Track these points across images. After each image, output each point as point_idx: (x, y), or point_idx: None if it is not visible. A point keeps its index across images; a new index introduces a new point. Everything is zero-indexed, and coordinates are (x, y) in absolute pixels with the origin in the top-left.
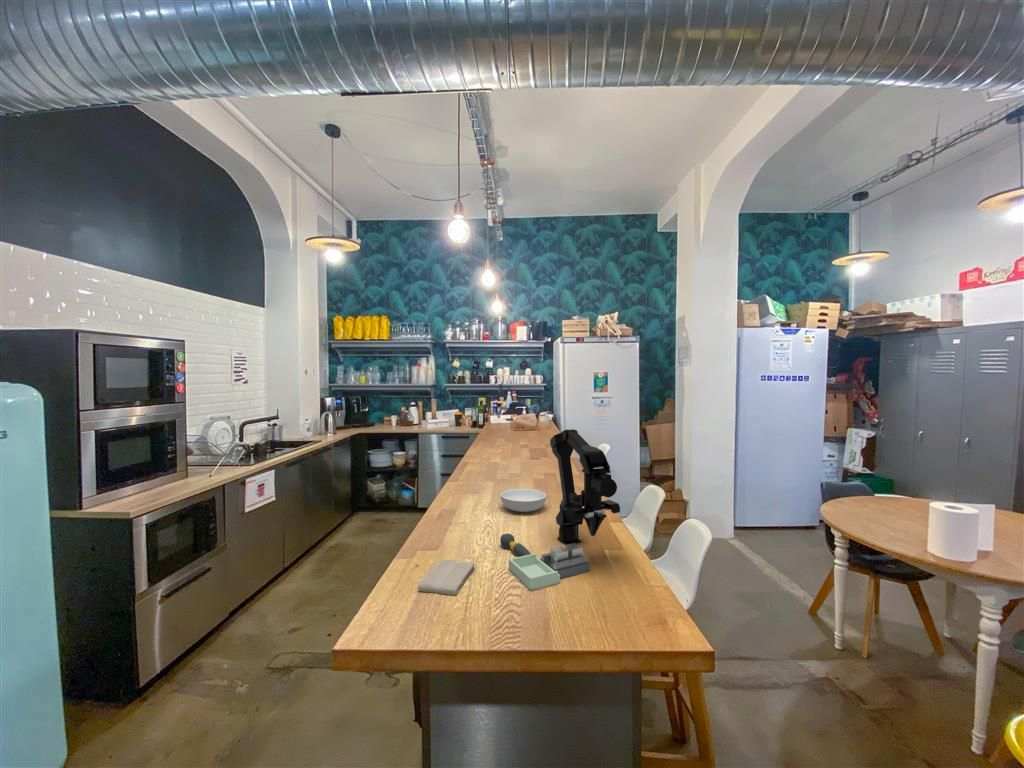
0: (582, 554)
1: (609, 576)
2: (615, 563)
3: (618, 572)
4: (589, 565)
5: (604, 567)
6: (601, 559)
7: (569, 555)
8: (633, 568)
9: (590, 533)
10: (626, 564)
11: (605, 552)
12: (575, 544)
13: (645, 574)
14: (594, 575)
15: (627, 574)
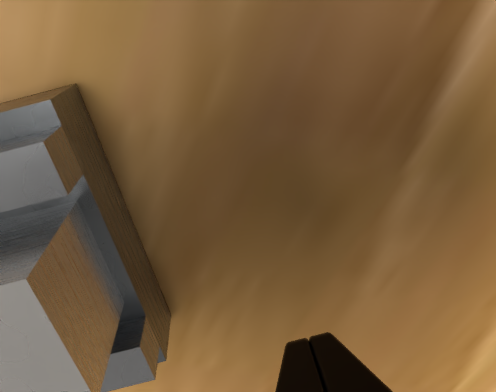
0: (113, 338)
1: (274, 381)
2: (419, 238)
3: (357, 348)
4: (166, 346)
5: (304, 280)
6: (354, 155)
7: None
8: (483, 317)
9: (282, 380)
10: (482, 264)
11: (477, 17)
12: (18, 321)
13: (492, 383)
14: (184, 362)
15: (394, 373)
